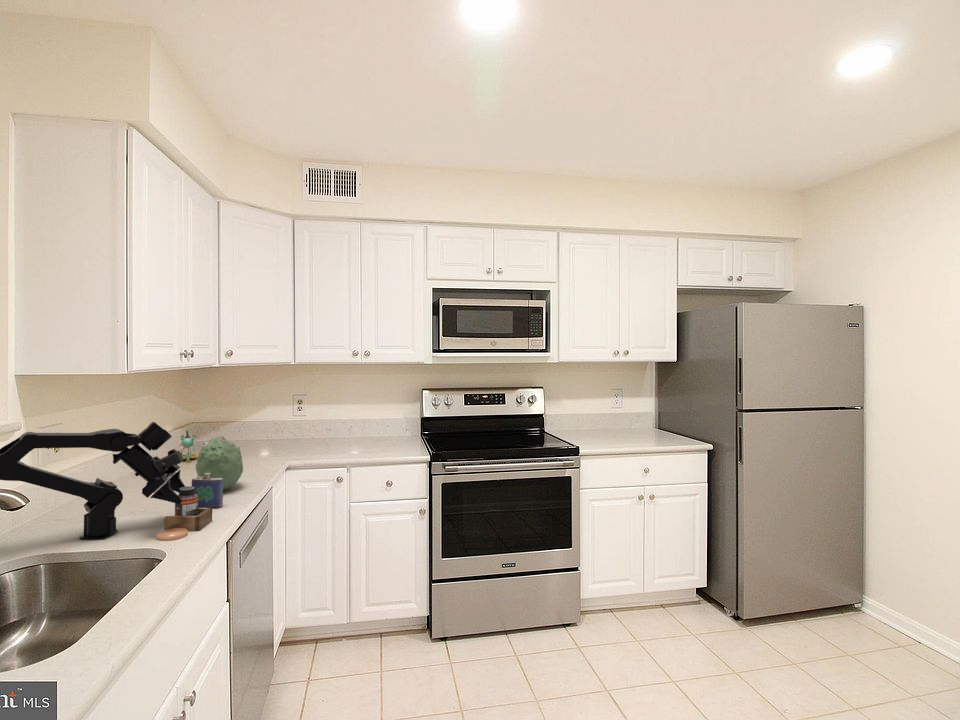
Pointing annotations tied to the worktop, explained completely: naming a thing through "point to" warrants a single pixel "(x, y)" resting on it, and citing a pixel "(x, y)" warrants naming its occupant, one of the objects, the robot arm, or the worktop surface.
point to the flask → (208, 491)
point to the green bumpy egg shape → (220, 461)
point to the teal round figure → (188, 443)
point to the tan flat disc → (171, 534)
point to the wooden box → (189, 520)
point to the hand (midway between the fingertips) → (184, 498)
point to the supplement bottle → (187, 502)
